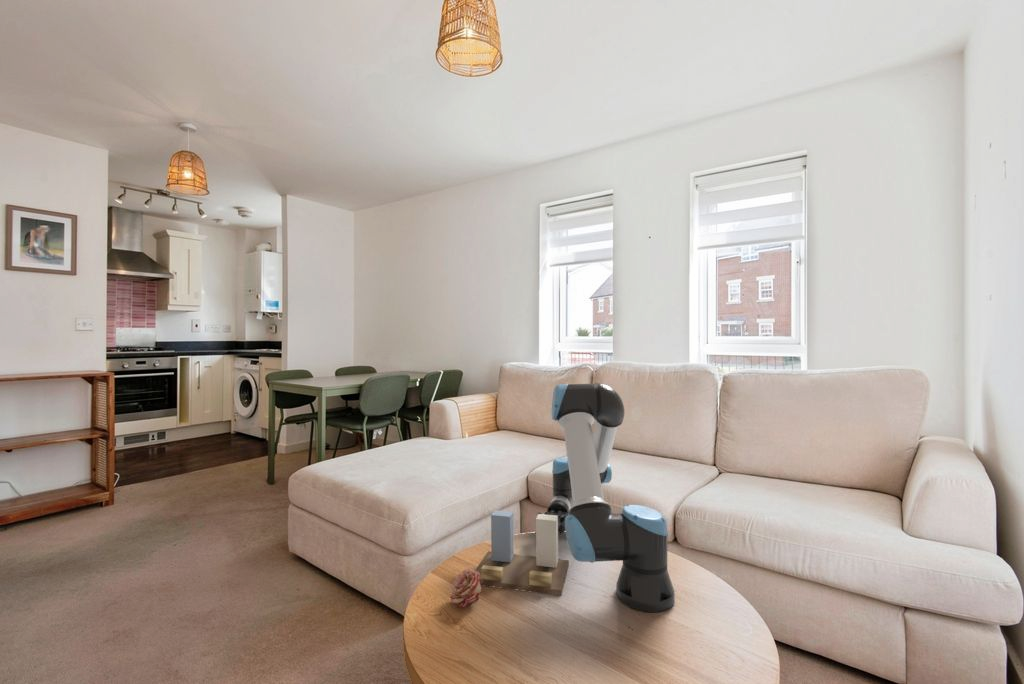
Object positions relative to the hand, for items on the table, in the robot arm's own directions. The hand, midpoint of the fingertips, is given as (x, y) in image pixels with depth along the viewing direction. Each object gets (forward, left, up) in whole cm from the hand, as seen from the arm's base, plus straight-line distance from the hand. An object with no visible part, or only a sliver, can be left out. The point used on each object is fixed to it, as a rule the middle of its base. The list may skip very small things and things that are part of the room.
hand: (548, 538), depth 141 cm
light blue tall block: (+14, +3, -6) cm, 15 cm away
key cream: (0, +3, -6) cm, 7 cm away
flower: (+18, +26, -8) cm, 32 cm away
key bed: (+7, +8, -8) cm, 13 cm away
